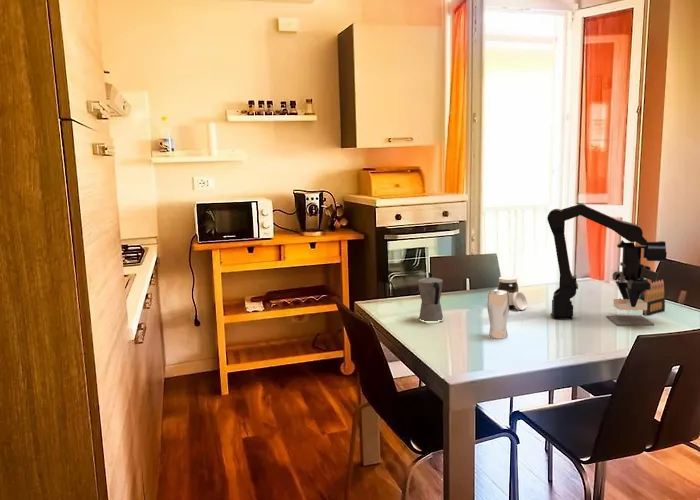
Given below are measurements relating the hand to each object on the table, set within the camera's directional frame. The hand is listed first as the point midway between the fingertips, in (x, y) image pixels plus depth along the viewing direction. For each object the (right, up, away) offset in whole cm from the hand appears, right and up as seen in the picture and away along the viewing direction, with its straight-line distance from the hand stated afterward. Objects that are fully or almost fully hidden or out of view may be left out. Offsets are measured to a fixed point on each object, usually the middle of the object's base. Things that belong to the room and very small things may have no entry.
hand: (629, 304), depth 197 cm
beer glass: (-49, -10, -10) cm, 51 cm away
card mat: (0, -6, +1) cm, 6 cm away
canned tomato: (+13, -3, +22) cm, 26 cm away
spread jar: (-34, -4, +26) cm, 42 cm away
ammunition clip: (+14, -4, +10) cm, 18 cm away
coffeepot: (-68, -7, +11) cm, 69 cm away
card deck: (0, -1, 0) cm, 1 cm away
